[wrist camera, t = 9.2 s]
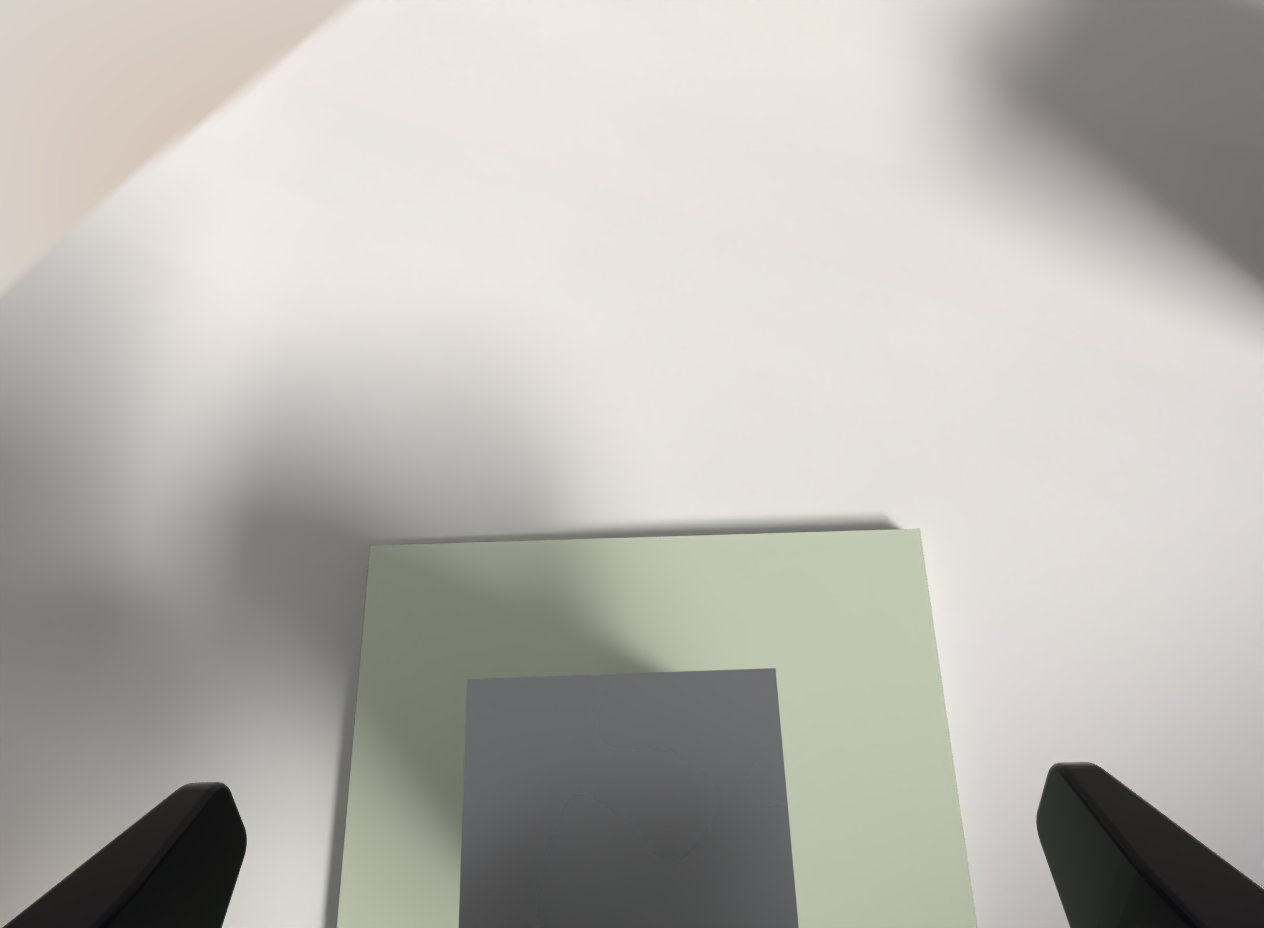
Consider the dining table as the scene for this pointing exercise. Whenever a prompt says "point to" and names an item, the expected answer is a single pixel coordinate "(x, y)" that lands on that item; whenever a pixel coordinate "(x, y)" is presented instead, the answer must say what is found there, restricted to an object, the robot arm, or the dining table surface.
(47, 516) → the dining table surface
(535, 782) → the gray rectangular block
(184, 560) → the dining table surface
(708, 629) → the mat
